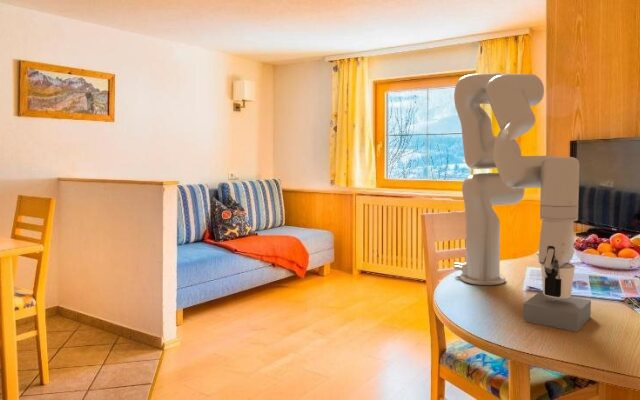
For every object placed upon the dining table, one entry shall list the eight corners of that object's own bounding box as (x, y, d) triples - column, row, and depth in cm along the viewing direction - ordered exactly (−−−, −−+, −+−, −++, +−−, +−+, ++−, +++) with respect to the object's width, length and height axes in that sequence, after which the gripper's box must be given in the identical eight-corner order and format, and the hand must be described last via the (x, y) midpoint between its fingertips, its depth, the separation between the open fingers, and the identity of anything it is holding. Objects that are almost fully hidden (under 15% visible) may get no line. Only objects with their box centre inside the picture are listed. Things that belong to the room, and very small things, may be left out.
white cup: (560, 301, 102) (561, 269, 101) (533, 293, 108) (534, 263, 107) (580, 296, 105) (581, 265, 104) (553, 288, 111) (553, 259, 110)
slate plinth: (523, 320, 106) (523, 303, 106) (539, 307, 114) (539, 291, 114) (577, 331, 99) (577, 313, 99) (590, 317, 107) (590, 300, 107)
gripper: (552, 207, 113) (551, 281, 115) (527, 216, 101) (526, 298, 103) (587, 209, 108) (585, 286, 110) (566, 219, 96) (563, 305, 98)
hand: (557, 291), depth 106 cm, fingers open, 5 cm apart
